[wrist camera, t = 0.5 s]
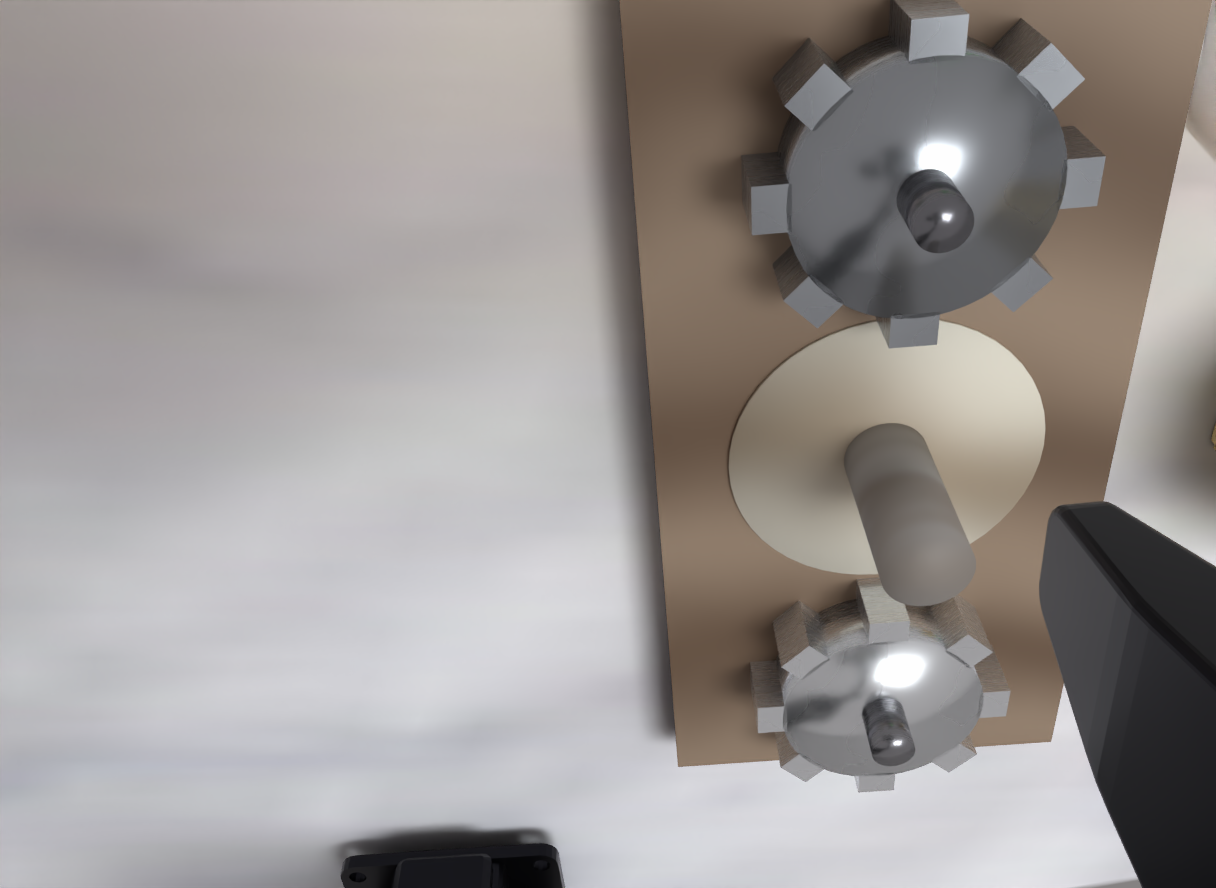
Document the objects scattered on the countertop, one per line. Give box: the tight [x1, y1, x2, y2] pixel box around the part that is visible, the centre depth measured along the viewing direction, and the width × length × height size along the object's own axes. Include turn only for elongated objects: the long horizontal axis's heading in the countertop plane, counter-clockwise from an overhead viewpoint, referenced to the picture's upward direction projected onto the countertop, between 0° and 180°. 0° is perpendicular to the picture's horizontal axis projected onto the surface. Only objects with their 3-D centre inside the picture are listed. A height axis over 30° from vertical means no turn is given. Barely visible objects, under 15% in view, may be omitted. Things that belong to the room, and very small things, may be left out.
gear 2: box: [750, 577, 1010, 792], centre depth 27 cm, size 6×6×3 cm
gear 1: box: [741, 0, 1106, 349], centre depth 19 cm, size 6×6×3 cm
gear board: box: [619, 0, 1212, 767], centre depth 23 cm, size 20×10×5 cm, turn 5°
